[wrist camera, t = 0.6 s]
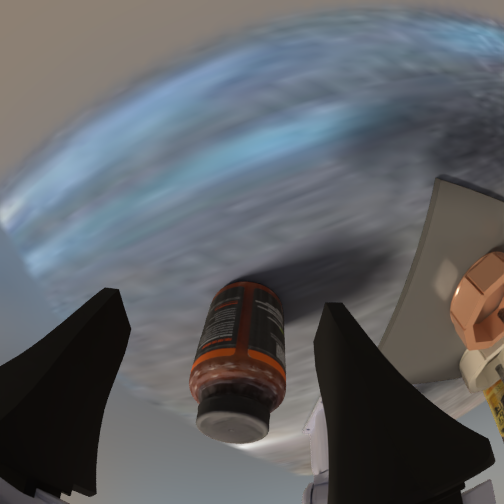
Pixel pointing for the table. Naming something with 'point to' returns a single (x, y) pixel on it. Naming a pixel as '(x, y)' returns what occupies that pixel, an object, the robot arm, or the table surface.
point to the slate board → (441, 282)
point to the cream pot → (482, 366)
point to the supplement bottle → (240, 364)
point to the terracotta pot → (480, 303)
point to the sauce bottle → (496, 404)
